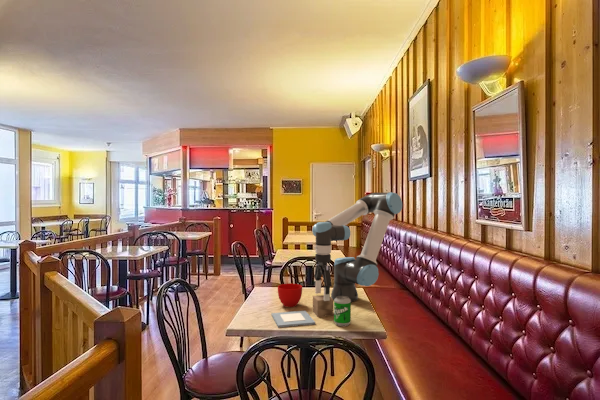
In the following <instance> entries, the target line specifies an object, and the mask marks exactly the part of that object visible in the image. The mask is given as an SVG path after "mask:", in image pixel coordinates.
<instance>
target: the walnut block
mask: <svg viewBox="0 0 600 400" xmlns="http://www.w3.org/2000/svg"><path fill="white" fill-rule="evenodd" d="M312 313H313V314H314V315H315V316H316V317H317V318H321V317H331V316H332V317H334V300H333V299H332V298H331V296H330V301H324V294H323V295H320V294H319V295H312Z"/></svg>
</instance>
